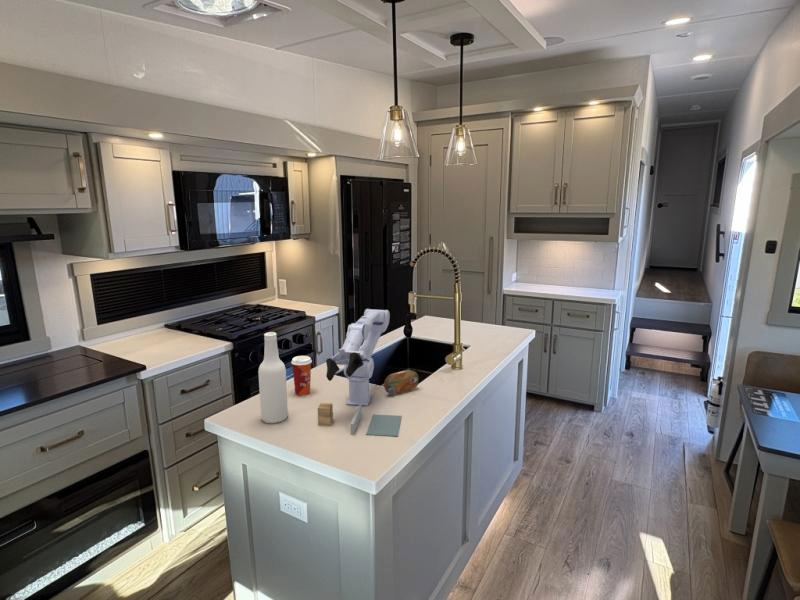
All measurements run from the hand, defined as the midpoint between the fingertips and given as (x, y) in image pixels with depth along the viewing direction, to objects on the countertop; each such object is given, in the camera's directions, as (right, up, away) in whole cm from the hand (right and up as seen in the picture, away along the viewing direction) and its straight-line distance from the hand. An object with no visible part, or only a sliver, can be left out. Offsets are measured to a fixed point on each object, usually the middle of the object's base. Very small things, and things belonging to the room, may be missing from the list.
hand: (338, 376), depth 145 cm
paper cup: (-18, -12, +31) cm, 37 cm away
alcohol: (-23, -16, +9) cm, 30 cm away
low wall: (+5, -17, +6) cm, 18 cm away
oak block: (-5, -17, +7) cm, 19 cm away
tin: (+20, -12, +32) cm, 40 cm away
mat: (+15, -17, +5) cm, 23 cm away
